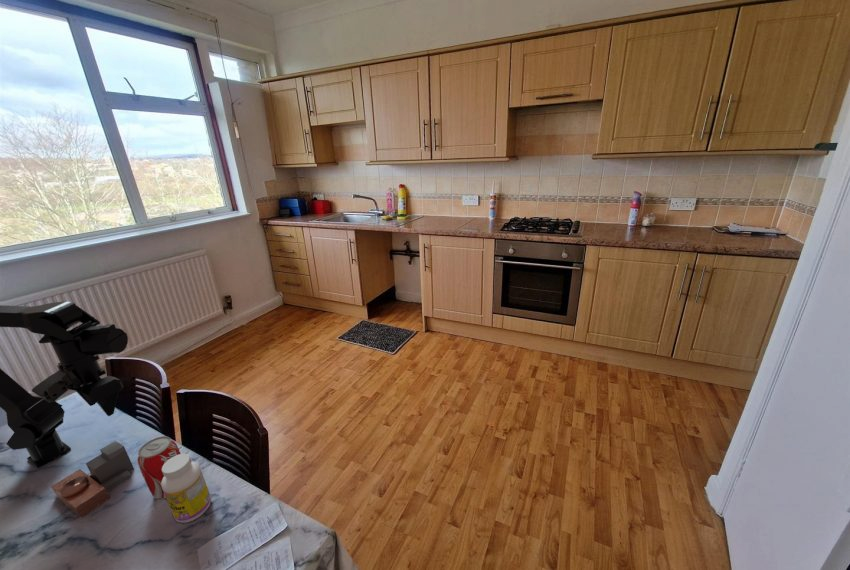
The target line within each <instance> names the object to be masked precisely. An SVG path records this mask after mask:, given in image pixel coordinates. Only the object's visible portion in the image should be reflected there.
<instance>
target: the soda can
mask: <svg viewBox="0 0 850 570" xmlns="http://www.w3.org/2000/svg"><path fill="white" fill-rule="evenodd" d="M179 454H182V453H181V451H180V449H179V447H178V444H177V443H176V442H175V441H174V440H173V439H171V437H169V436H165V435H164V436H158V437H155V438H153V439H150V440H148V441H147V442H146V443H144V444H142V446H141V447H140V448H139V450H138V452H137V455H138V457H137V465H138V468H139V470H140V473H141V475H142V477H143V479H144V481H145V484H146V486H147V489H148V490H149V492H150V493H151V495H152V497H153V498H155V499H160V500H161V499H166V497H165V494H164V492H163V490H162V487H161V482H162V479H163V477H164V475H163V472H162V467H163V465H164V464H165V462H166V461H168V460H169V459H170V458H172V457H174V456H176V455H179Z"/></svg>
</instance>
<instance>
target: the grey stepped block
mask: <svg viewBox="0 0 850 570" xmlns="http://www.w3.org/2000/svg"><path fill="white" fill-rule="evenodd" d="M99 451H100V453H101V454H99V455H97V456H95V457H94V458H93V459H91V460H89V461H88V462H86V463H85V465H86V467H87V469H88V471H89V473H91V475H92V477H93V479H94V480H95V481H96V482H97V483H99V484H100V485H102V484H103V483H105V482H106V481H108V480H109V479H111V478H112V477H114V476H115V475H117V474H118V473H120V472H121V471H123V470H124V469H127V470H128V472H129V473H131V472H132V471H134V470H135V467H134V466H133V463H132V460H131V458H130V456H129V454H128V452H127V450H126V447H125V446H124V445H123V444H122V443H120V442H118V441H116V440H114V441H113V442H111V443H108V444H107V445H105V446H104V447H102V448H100V450H99Z"/></svg>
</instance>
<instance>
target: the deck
mask: <svg viewBox="0 0 850 570" xmlns="http://www.w3.org/2000/svg"><path fill="white" fill-rule="evenodd" d="M129 478H131V474H130V472H128V470H127V469H124V470H123V471H121V472H120V473H118V474H117V475H115V476H114V477H112V478H111V479H109V480H108V481H106V482H105V483H103V484H102V485H100V484H99V483H97V482H96V481H95V480H94V479H93V477H92V475H91V473H90V472H89V473H88V474H87V473H85V471H83V470H82V469H80V468H79V469H77V470H76V471H74V472H73V473H70V474H69V475H67V476H65V477H64V478H62V479H60V480H59V481H58V482H55V483H54V484H53V485H52V484H51V486H50V488H51V490H52V491H53V493H54V494H55V496H56V498H58V500H60V501H61V502H62V503H63V504H64V505H66V507H68V508H69V509H70V510H71V511H72V512H73V513H74V514H76V515H77V516H78V517H79V518H80V519H82V518H84V517H85V516H87V515H89V513H91V512H93V511H94V510H96V509H97V508H98V507H99V506H101V505H102V504H104V503H105V502H107V501H108V500H110V499H111V498H110V496H109V492H111V491H112V490H113V489H115V488H116V487H118V486H119V485H121V484H122V483H123V482H125V481H127V480H129Z"/></svg>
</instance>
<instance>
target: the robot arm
mask: <svg viewBox="0 0 850 570" xmlns="http://www.w3.org/2000/svg"><path fill="white" fill-rule="evenodd" d="M100 324H101V322H100V321H99V320H98V319H96V318H95V317H94V316H92V315H91V314H89V313H88V312H87V311H85V310H84V309H82V308H81V307H79V306H78V305H76V303H75V302H73V301H65V300H64V301H57V302H49V303H45V304H40V305H34V306H30V305H29V306H25V305H24V306H23V305H0V328H17V329H19V328H21V329H26V330H28V331H29V332H30V333H32V334H38V335H42V338H40V339H39V340H38V343H40V344H48V343H49V344H51V347H52V348H53V350H54V352H55V354H56V357H57V359H58V361H59V362H58V363H57V365H56V367H57V369H58V370H57V371H56V372H54V373H52V374H51V375H49V376H48V377H46V378H45V379H44V380H42V381H40V383H38V384H37V385H35V386H34V387H32V389H31V392H32V393H34V394H35V395H37V396H34V395H32V394H31V393H30V392H29V391H27V390H26V389H25V388H24V387H23V386H22V385H20V383H18V382H17V381H15V379H14V378H13V377H11V376H10V375H9V374H7V372H5V371H4V370H3V369H1V367H0V409H1V410H3V411H4V413H5V414H6V421H7V426H8V428H10V430H11V431H12V432H13V434H12V435H11V436H10V438H9V439H8V440H7V442H6V443H5V444H6V446H8V447H9V448H10V449H11V450H12V451H13V450H14V451H15V450H23V449H24V450H25V449H26V451H27V453H28V455H29V456H28V457H27V458H26V460H27V461H28V462H29V463H30V464H31V465H33V466H34V467H35V468H37V469H39V468H40V467H42V466H44V465H46V464H48V463H49V462H51V461H53V460H55V459H57V458H59V457H60V456H62V455H64V454H65V453H67V452H69V451H71V450H72V447H71V446H70V445H68V444H66V443H65V442H64V441H62V439H61V437H60V435H59V433H58V431H57V430H56V429H57V428H58V427H59V426H61V425H62V424H63V423H64V418H65V413H66V412H65V409H64V408H63V404H60V403H59V402H57V401H56V400H58V399H59V398H60V397H62V396H63V395H64V394H66V393H67V392H68V391H75V392H76V393H77V395H78V396H80V397H81V399H83V400H84V402H85V403H86V404H87V405H88V406H90V407H92V406H95V405H97V404H98V406H99V408H100V409H101V410H102V411H103V412H104V413H105V415H106V416H107V417H110V416H112V415H114V414H115V410H116V405H117V401H118V397H119V393H120V391H122V389H123V388H124V384H123V382H122V380H121V379H119V378H117V377H115V376H111V375H107V376H104V377H103V378H102V377H101V376H103V375H105V374H106V373H107V372H106V370H105V369H103V368H101V366H100V363H99V362H98V360H100V356H99V355H110V354H118V353H119V354H120V353H122V352H124V351H125V349H126V348H127V347H128V341H129V338H128V334H127V332H125V331H124V330H123V329H122V328H118V327H116V325H115V324H114V323H109V324H105V325H100ZM76 325H77V326H76ZM74 326H75V327H74ZM72 327H73V328H72ZM70 328H71V329H70ZM68 329H70V330H68Z"/></svg>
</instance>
